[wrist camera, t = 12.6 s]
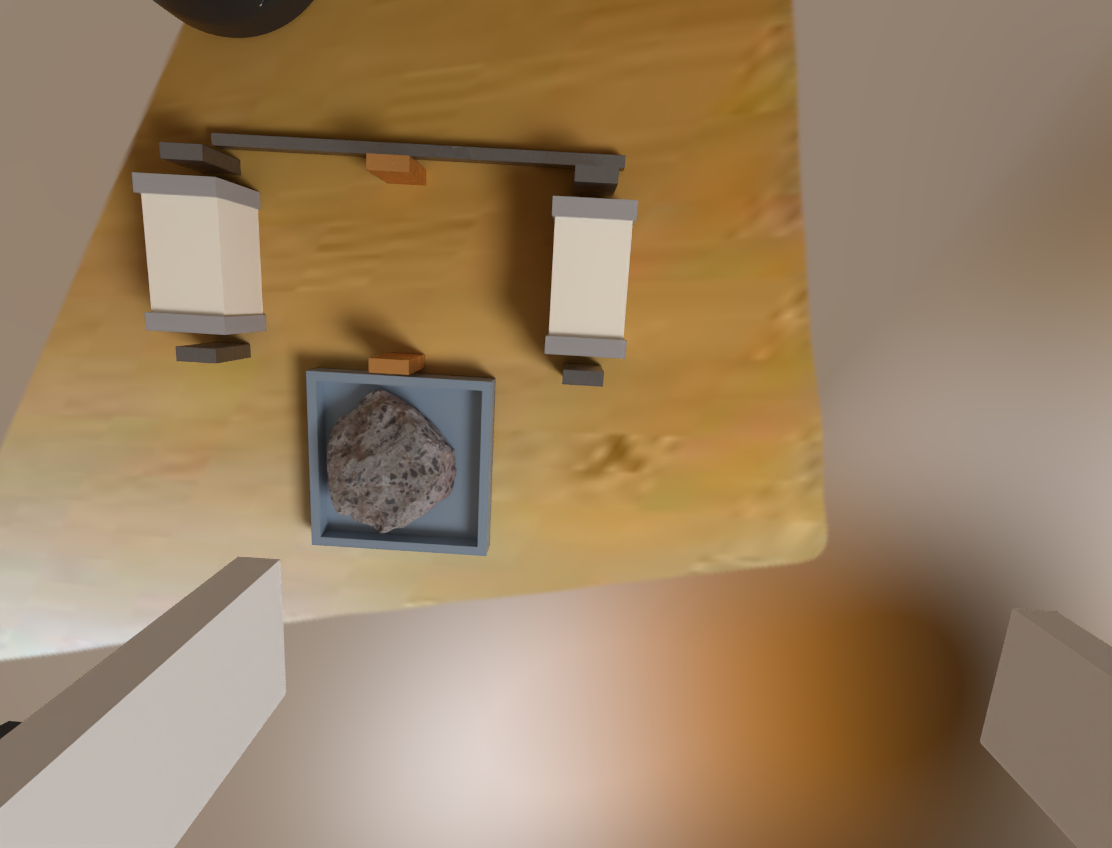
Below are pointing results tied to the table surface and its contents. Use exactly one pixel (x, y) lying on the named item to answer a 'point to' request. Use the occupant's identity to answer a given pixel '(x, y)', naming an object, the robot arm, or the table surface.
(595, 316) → the fuse
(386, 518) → the rock
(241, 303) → the fuse
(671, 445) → the table surface
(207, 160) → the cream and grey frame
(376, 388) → the tray
